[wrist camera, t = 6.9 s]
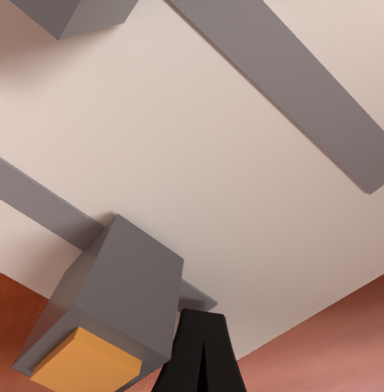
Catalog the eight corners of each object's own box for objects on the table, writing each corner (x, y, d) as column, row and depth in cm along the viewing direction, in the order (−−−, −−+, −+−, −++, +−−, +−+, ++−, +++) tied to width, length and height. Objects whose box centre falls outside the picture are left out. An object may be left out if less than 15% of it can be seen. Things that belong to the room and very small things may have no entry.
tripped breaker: (184, 259, 10) (168, 373, 7) (127, 307, 11) (93, 421, 8) (117, 213, 9) (68, 318, 6) (65, 270, 10) (3, 380, 7)
